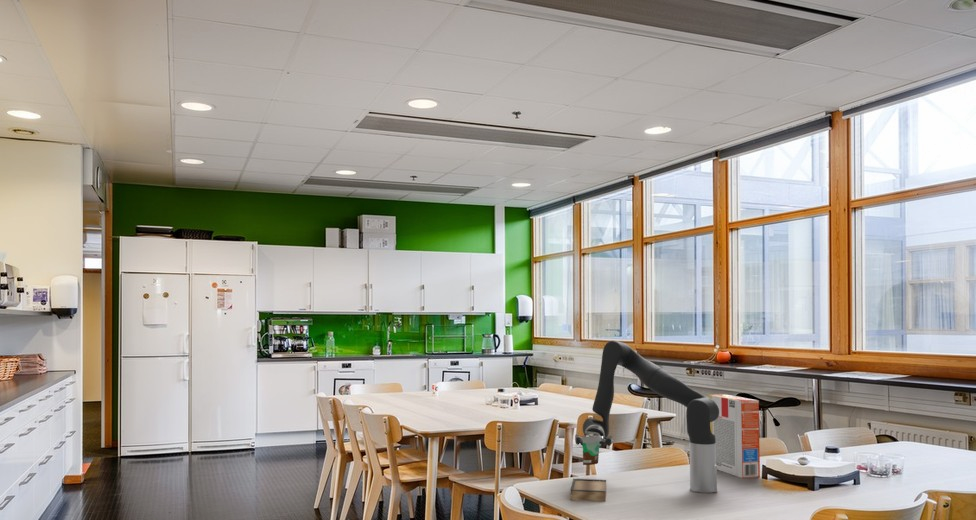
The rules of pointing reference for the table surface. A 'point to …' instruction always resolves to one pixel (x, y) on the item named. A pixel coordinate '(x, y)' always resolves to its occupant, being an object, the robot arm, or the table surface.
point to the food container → (591, 448)
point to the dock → (588, 490)
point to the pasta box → (737, 435)
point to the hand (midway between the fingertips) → (592, 443)
